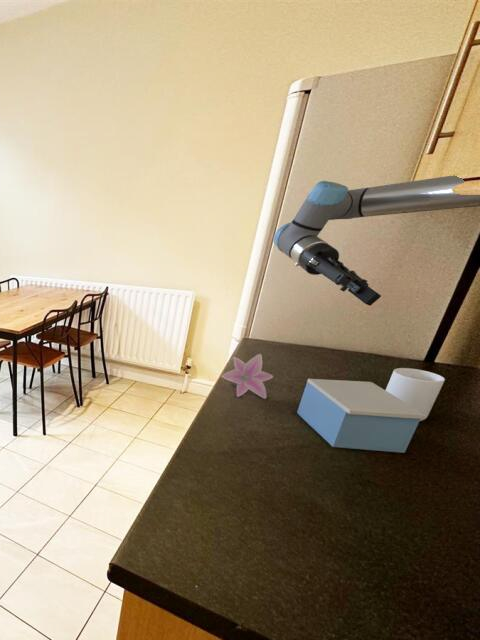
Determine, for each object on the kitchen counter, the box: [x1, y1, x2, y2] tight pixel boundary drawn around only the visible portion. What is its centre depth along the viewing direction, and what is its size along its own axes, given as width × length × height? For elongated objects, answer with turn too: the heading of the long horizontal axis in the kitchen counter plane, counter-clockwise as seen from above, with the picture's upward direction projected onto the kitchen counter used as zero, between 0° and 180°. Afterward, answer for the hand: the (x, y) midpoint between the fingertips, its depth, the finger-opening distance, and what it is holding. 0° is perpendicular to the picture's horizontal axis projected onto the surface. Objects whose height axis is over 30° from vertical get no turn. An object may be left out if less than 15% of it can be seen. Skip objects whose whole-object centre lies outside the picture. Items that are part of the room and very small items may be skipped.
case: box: [296, 381, 421, 454], centre depth 91 cm, size 16×13×8 cm
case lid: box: [306, 378, 427, 420], centre depth 88 cm, size 16×13×1 cm
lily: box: [221, 353, 274, 400], centre depth 111 cm, size 12×12×10 cm
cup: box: [384, 367, 446, 422], centre depth 98 cm, size 8×12×10 cm
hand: (373, 299), depth 93 cm, fingers closed
